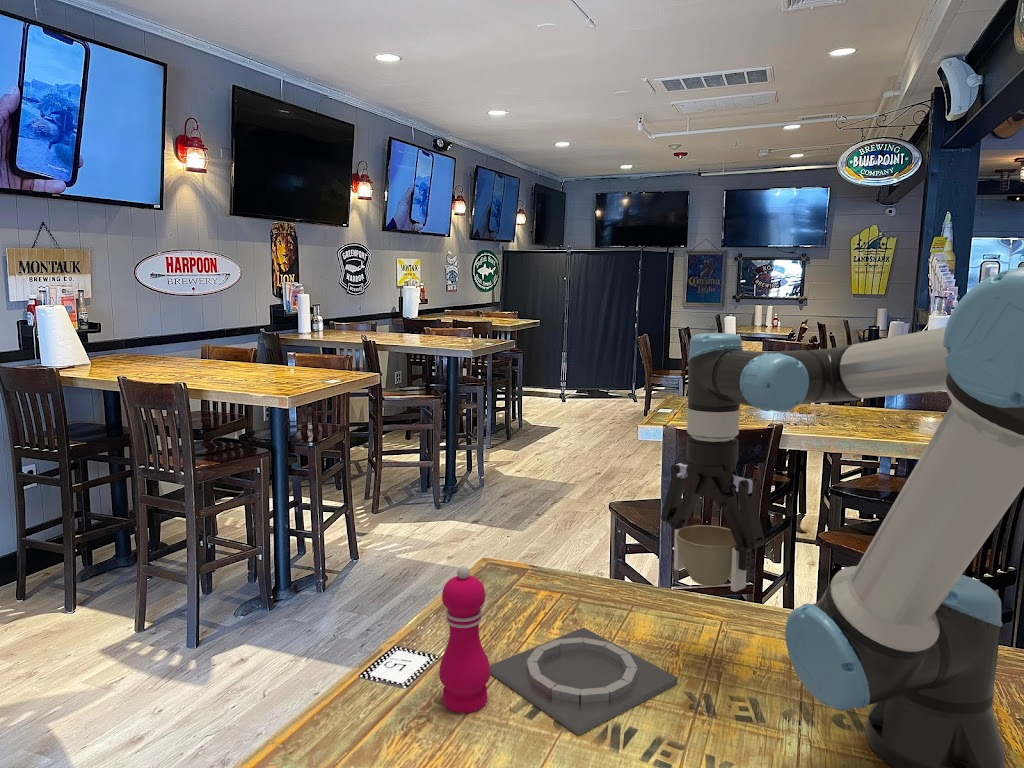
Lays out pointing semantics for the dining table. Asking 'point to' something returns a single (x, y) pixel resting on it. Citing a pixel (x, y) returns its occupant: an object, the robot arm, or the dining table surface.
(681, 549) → the flower pot
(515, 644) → the dining table surface
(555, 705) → the ring plate
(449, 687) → the pepper mill
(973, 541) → the robot arm
